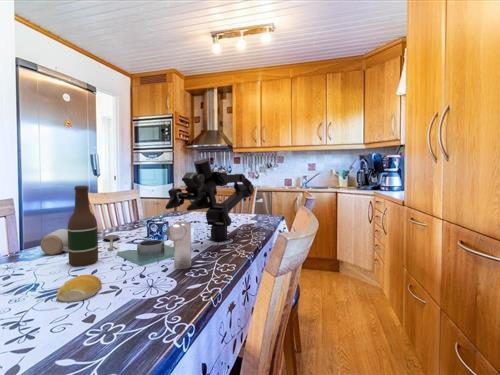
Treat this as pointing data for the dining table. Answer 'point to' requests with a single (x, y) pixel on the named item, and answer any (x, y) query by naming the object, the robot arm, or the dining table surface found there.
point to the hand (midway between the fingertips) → (176, 208)
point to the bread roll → (79, 288)
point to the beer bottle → (82, 231)
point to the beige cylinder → (55, 242)
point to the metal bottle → (181, 244)
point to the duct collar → (148, 252)
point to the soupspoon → (111, 240)
